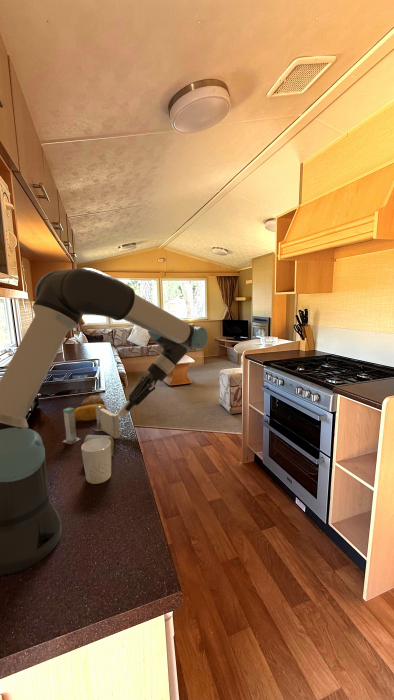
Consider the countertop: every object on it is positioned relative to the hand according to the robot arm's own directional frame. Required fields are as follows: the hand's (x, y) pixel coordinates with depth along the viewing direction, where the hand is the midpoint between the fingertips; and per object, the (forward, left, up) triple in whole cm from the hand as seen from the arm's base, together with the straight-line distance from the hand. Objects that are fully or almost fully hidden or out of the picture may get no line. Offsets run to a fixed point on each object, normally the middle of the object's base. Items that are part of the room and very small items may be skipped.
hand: (120, 415), depth 113 cm
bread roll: (-8, +32, -7) cm, 34 cm away
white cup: (-11, -27, -7) cm, 30 cm away
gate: (-4, 0, -6) cm, 7 cm away
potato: (-10, +18, -7) cm, 21 cm away
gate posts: (-12, +3, -6) cm, 14 cm away
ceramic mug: (-9, -15, -7) cm, 19 cm away
